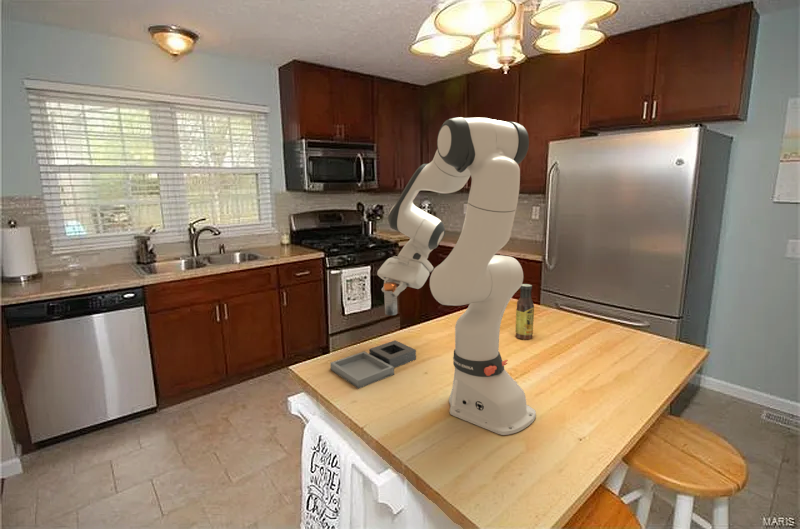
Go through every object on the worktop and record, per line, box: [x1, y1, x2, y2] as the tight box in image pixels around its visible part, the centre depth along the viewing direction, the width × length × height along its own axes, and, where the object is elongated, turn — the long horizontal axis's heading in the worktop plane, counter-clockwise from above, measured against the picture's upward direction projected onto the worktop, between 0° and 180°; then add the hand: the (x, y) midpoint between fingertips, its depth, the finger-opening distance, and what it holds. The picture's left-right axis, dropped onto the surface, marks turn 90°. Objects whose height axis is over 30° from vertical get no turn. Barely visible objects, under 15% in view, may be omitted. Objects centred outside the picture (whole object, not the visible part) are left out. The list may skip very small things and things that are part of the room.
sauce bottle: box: [514, 283, 535, 340], centre depth 149 cm, size 7×6×20 cm
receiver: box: [368, 339, 417, 369], centre depth 135 cm, size 11×11×4 cm
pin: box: [383, 282, 398, 316], centre depth 131 cm, size 4×4×10 cm
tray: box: [329, 350, 395, 390], centre depth 127 cm, size 16×13×2 cm
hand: (388, 293), depth 130 cm, fingers closed on pin, 4 cm apart
